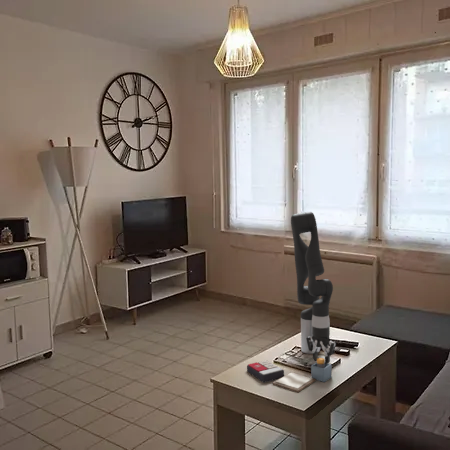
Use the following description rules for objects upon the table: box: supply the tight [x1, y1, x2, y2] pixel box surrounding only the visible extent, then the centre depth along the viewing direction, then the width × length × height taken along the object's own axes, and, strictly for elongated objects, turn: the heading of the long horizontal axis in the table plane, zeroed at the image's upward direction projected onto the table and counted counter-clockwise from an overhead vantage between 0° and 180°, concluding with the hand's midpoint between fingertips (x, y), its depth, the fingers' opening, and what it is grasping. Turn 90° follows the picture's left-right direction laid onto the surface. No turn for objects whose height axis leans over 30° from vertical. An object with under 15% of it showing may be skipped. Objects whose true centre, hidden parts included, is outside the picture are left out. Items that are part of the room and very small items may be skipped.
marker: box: [316, 357, 325, 368], centre depth 219 cm, size 3×3×8 cm
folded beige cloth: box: [272, 371, 317, 393], centre depth 216 cm, size 14×13×1 cm
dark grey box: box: [246, 359, 285, 384], centre depth 226 cm, size 11×4×15 cm
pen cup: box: [310, 361, 332, 383], centre depth 219 cm, size 6×6×6 cm
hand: (321, 361), depth 219 cm, fingers open, 5 cm apart
